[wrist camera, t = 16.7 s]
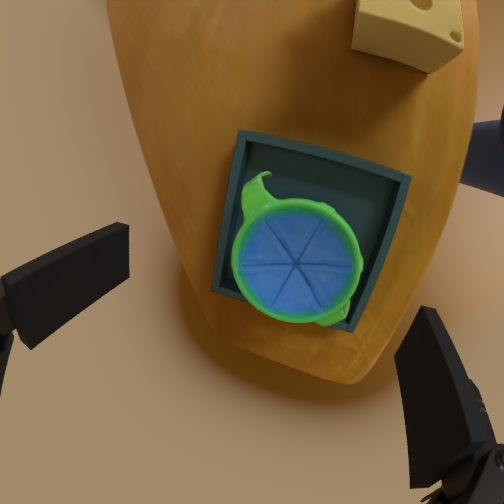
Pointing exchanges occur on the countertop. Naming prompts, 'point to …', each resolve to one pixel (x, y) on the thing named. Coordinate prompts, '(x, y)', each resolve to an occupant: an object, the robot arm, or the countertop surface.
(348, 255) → the snack cup
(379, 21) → the cheese
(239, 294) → the tray
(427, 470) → the robot arm
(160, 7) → the countertop surface
